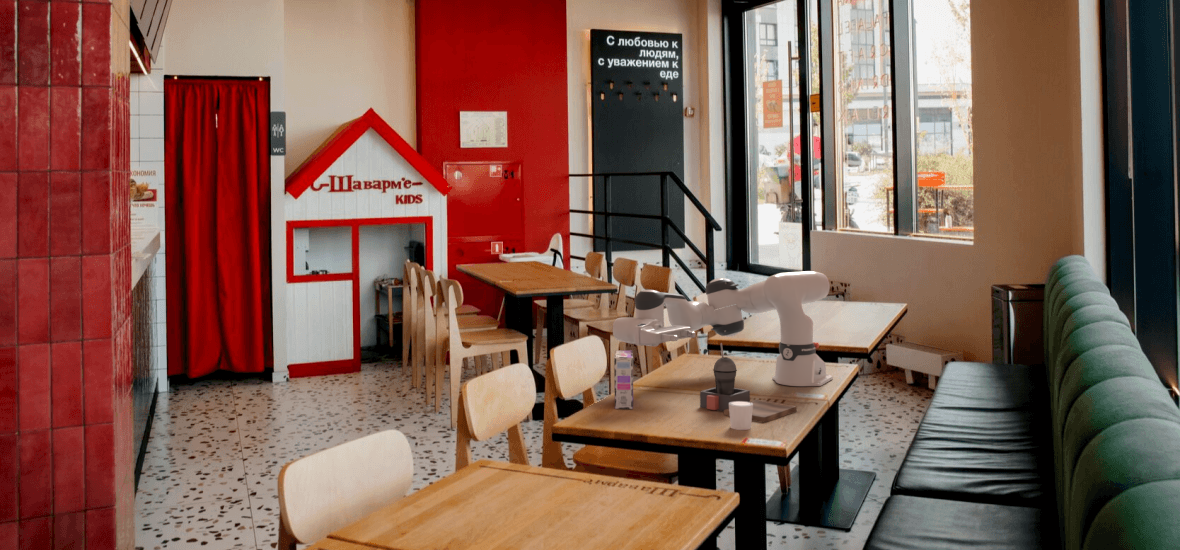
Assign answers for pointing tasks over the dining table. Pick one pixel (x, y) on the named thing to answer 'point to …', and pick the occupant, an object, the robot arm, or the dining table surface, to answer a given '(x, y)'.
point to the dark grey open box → (722, 398)
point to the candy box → (623, 379)
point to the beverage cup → (724, 375)
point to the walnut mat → (768, 410)
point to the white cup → (740, 415)
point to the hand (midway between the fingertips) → (685, 336)
